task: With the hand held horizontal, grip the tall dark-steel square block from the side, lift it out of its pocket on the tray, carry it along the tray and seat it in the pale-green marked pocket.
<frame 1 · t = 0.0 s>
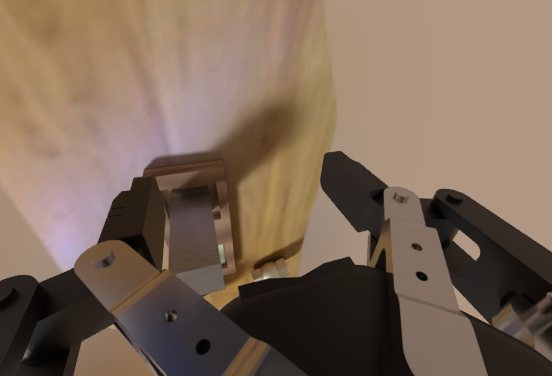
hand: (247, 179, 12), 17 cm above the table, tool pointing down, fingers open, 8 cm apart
metal block: (192, 201, 32), point 1 cm above the table, touching tray
tray: (199, 227, 36), on the table
valve: (267, 263, 48), on the table
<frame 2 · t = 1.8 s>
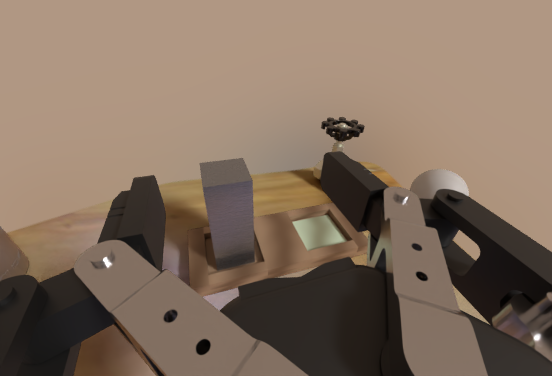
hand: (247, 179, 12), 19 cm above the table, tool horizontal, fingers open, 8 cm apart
metal block: (233, 252, 31), point 1 cm above the table, touching tray
lightbulb: (413, 238, 35), on the table
tray: (277, 246, 33), on the table
valve: (330, 186, 45), on the table
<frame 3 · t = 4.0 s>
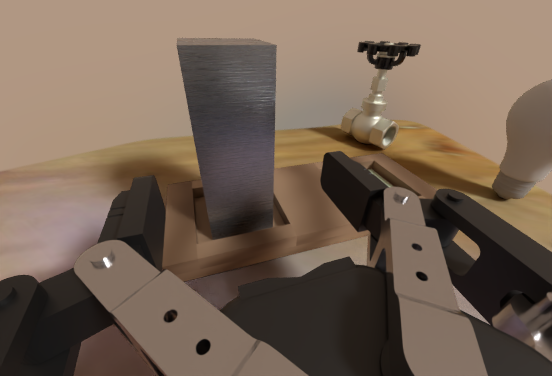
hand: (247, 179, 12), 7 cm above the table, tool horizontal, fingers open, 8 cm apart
metal block: (238, 214, 20), point 1 cm above the table, touching tray
lightbulb: (502, 198, 24), on the table
tray: (305, 208, 22), on the table
valve: (364, 143, 34), on the table
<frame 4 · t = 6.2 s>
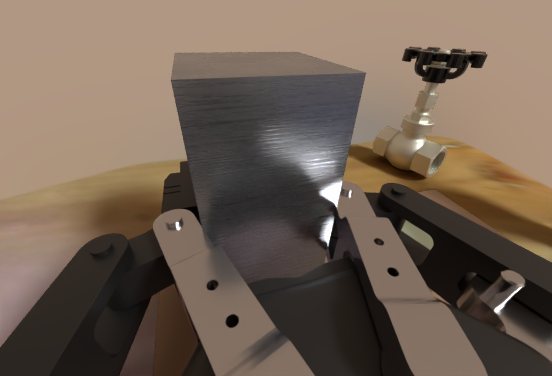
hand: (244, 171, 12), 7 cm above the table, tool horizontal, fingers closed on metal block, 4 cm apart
metal block: (260, 293, 14), point 1 cm above the table, touching gripper, tray
tray: (347, 275, 16), on the table
valve: (400, 168, 28), on the table
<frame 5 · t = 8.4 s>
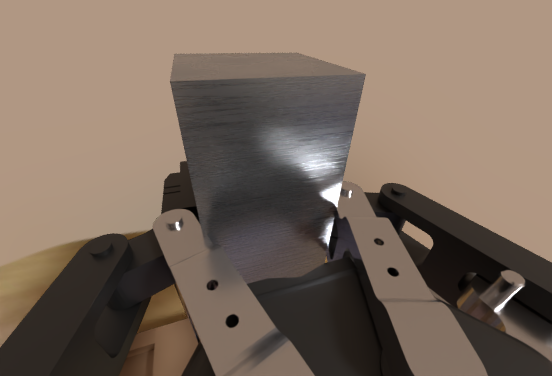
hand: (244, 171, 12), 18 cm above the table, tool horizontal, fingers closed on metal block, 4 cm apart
metal block: (260, 294, 14), point 11 cm above the table, touching gripper
when the fingers open (8 cm above the table, at t = 10.8 s): metal block stays where it is, resting on tray.
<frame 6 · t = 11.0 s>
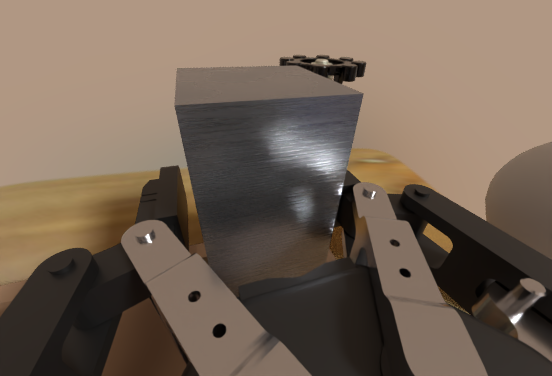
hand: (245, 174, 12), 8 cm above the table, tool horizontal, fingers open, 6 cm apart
metal block: (260, 299, 14), point 1 cm above the table, touching tray
lightbulb: (481, 305, 15), on the table
tray: (153, 338, 13), on the table
valve: (306, 189, 26), on the table
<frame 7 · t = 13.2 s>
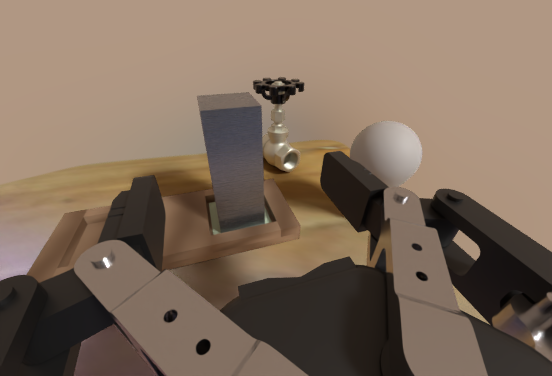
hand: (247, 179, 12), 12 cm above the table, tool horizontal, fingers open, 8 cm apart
metal block: (239, 214, 26), point 1 cm above the table, touching tray
lightbulb: (365, 220, 27), on the table
tray: (183, 232, 25), on the table
valve: (277, 165, 38), on the table
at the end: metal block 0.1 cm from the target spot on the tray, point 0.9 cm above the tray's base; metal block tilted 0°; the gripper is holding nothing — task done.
